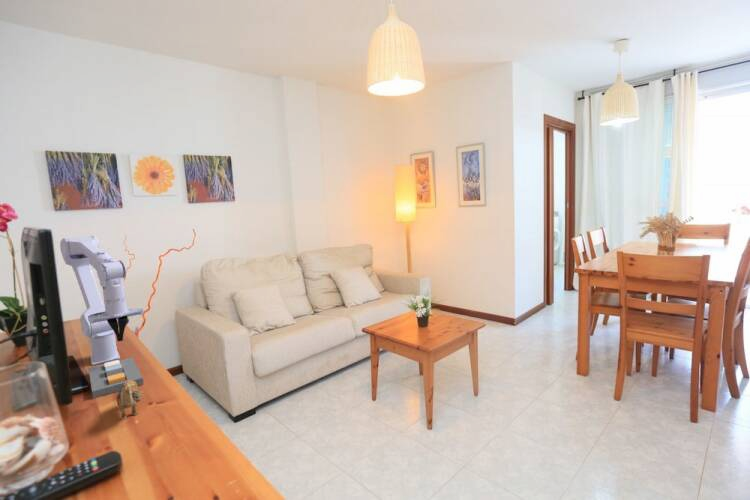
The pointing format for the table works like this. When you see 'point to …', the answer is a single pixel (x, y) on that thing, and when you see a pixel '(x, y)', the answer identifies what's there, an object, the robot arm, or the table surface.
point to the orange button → (116, 378)
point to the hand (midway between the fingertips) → (120, 340)
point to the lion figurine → (128, 398)
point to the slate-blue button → (114, 370)
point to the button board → (101, 383)
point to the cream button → (111, 363)
